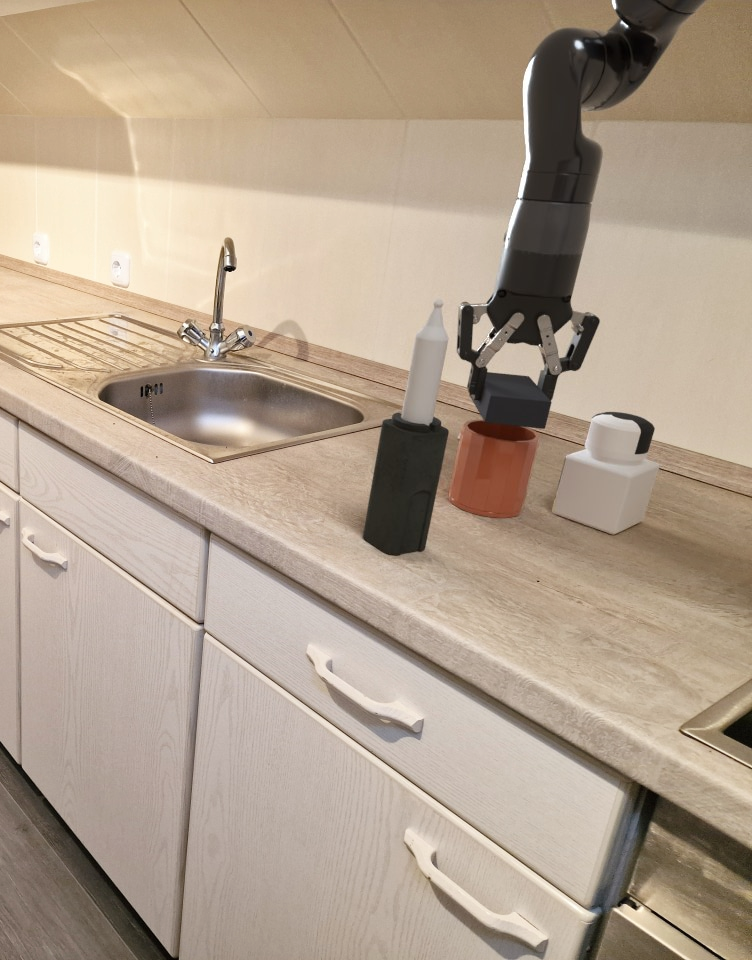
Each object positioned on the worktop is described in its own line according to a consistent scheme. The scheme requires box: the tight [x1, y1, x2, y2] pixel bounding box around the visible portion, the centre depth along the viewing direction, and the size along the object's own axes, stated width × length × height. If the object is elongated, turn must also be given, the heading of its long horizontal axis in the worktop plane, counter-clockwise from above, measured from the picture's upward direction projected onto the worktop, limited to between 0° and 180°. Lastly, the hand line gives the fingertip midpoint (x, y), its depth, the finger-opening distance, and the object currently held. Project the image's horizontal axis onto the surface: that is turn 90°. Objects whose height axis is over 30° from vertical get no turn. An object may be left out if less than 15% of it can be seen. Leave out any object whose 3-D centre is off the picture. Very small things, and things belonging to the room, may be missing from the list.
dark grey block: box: [468, 371, 552, 430], centre depth 94 cm, size 6×11×3 cm, turn 167°
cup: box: [448, 419, 542, 519], centre depth 97 cm, size 8×8×9 cm
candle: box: [362, 298, 450, 556], centre depth 83 cm, size 5×5×25 cm
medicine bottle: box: [551, 411, 660, 536], centre depth 94 cm, size 7×7×12 cm
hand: (507, 401), depth 94 cm, fingers closed on dark grey block, 6 cm apart
